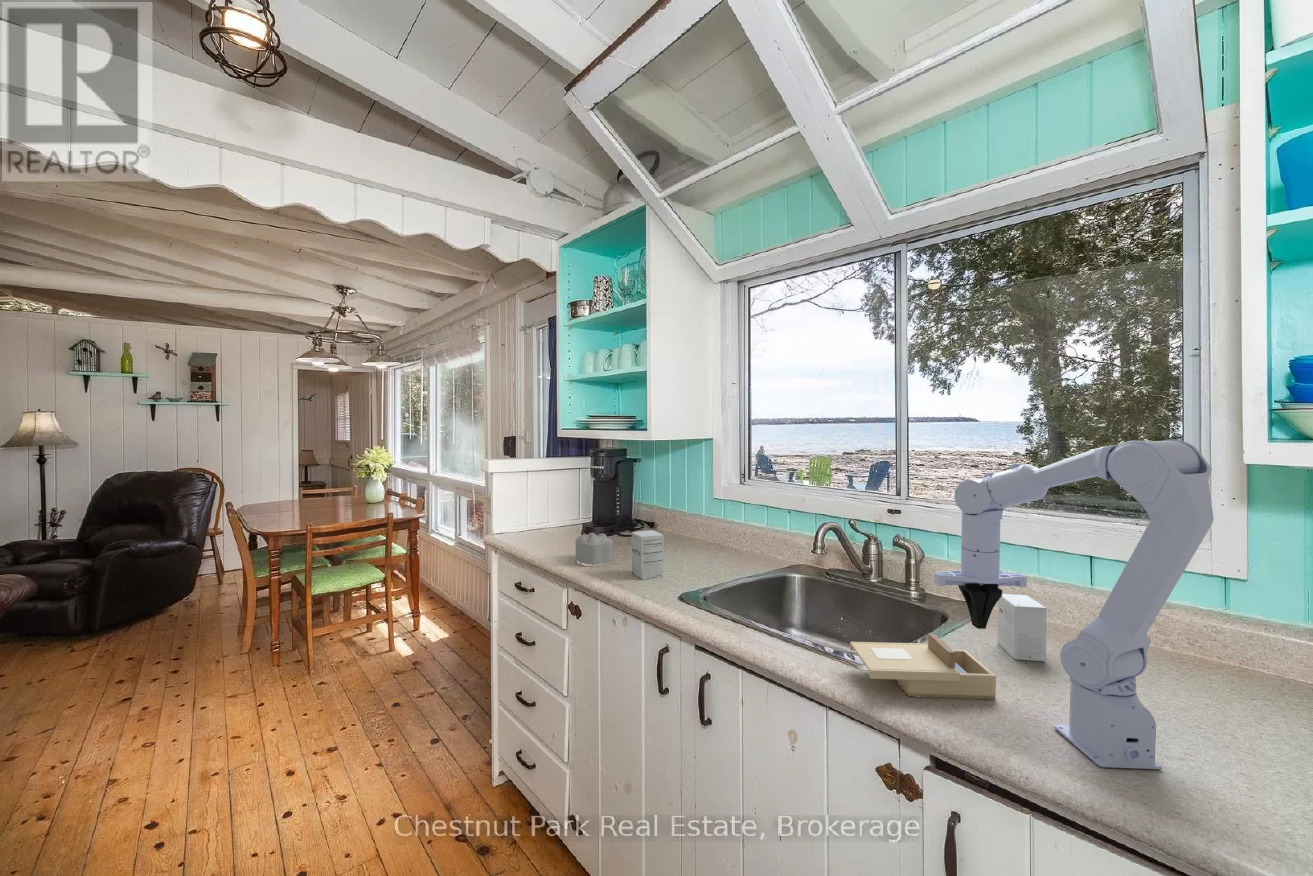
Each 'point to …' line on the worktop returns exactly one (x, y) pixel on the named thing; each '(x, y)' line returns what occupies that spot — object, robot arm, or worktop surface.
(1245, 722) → the worktop surface
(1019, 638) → the small box
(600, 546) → the lumpy-topped squat cylinder
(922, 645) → the lid
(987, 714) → the worktop surface
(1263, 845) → the worktop surface
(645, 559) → the supplement box
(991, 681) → the mailer box
